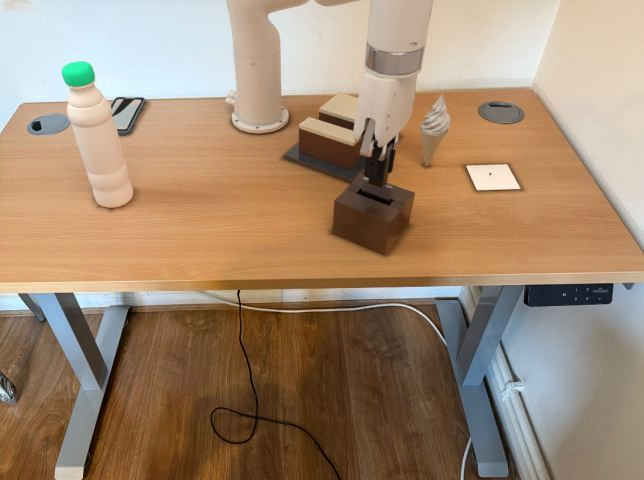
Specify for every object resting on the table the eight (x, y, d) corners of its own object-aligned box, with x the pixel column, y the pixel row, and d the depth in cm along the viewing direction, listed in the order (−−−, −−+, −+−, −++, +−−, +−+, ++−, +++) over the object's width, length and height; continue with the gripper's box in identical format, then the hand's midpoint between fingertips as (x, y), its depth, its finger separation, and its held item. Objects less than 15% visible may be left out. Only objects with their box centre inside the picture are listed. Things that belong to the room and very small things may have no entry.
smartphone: (95, 131, 115) (115, 96, 125) (96, 135, 116) (116, 100, 126) (128, 132, 115) (146, 97, 125) (129, 136, 115) (147, 101, 125)
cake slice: (298, 151, 107) (298, 124, 103) (308, 143, 109) (308, 116, 105) (350, 170, 102) (353, 142, 98) (359, 161, 104) (362, 133, 100)
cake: (317, 134, 111) (318, 108, 107) (337, 118, 116) (339, 92, 111) (369, 151, 106) (372, 124, 102) (387, 134, 111) (391, 107, 106)
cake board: (283, 158, 107) (283, 154, 107) (334, 116, 118) (334, 112, 118) (353, 183, 101) (353, 179, 100) (400, 136, 112) (400, 132, 111)
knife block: (331, 233, 91) (334, 200, 86) (357, 206, 96) (361, 173, 91) (384, 255, 87) (390, 222, 82) (408, 225, 92) (415, 192, 87)
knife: (356, 224, 91) (364, 141, 80) (361, 218, 92) (370, 135, 81) (382, 234, 89) (395, 151, 78) (387, 228, 90) (401, 145, 79)
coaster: (520, 188, 98) (522, 185, 97) (477, 190, 98) (478, 186, 98) (507, 164, 103) (508, 160, 103) (465, 165, 104) (466, 162, 103)
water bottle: (101, 214, 97) (57, 80, 78) (91, 193, 101) (48, 62, 83) (139, 202, 99) (104, 69, 81) (128, 182, 103) (92, 52, 85)
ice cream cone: (439, 174, 102) (457, 100, 91) (412, 171, 103) (427, 98, 92) (439, 159, 105) (456, 86, 95) (413, 157, 106) (427, 85, 95)
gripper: (395, 29, 76) (380, 144, 89) (338, 72, 67) (331, 192, 81) (445, 40, 73) (421, 157, 86) (392, 86, 64) (375, 208, 77)
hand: (378, 173), depth 83 cm, fingers closed on knife, 2 cm apart
